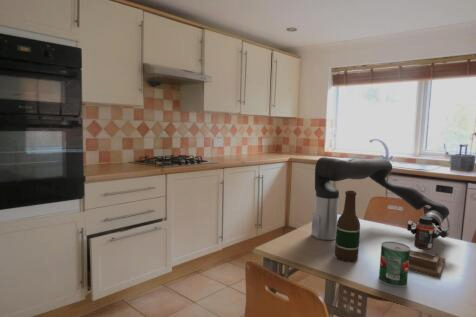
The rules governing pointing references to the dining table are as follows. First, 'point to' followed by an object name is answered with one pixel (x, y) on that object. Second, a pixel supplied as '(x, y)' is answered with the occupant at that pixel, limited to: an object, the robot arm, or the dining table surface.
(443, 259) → the walnut dock
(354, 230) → the beer bottle
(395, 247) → the canned tomato
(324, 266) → the dining table surface
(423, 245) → the supplement bottle
